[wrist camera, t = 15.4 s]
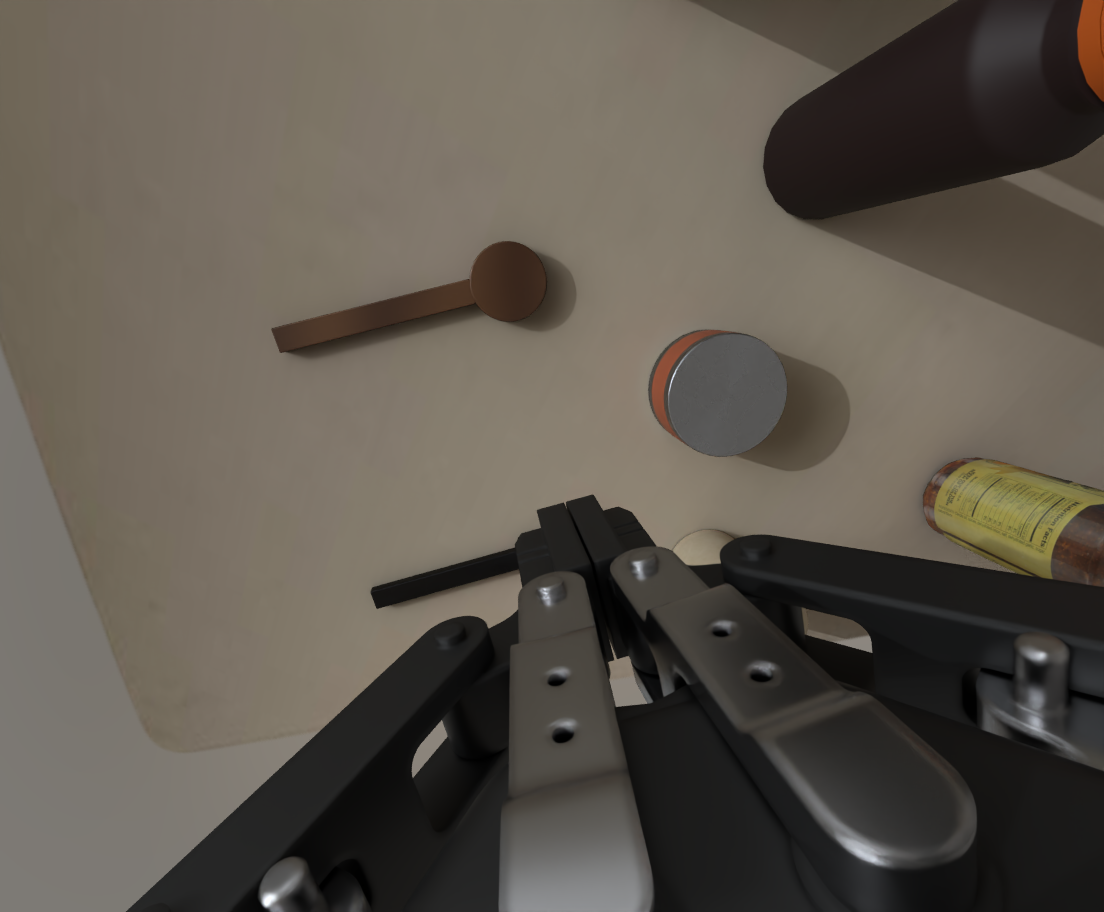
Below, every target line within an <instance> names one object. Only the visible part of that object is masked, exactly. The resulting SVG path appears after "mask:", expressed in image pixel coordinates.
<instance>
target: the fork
mask: <svg viewBox="0 0 1104 912" xmlns="http://www.w3.org/2000/svg"><path fill="white" fill-rule="evenodd" d="M518 538H519V537H518ZM517 569H519V564H518V559H517V554H516V548H512V549H508V550H505V551H501V552H498V553H494V554H490V555H487V556H483V557H480V558H476V559H473V560H469V561H465V562H462V563H458V564H455V565H451V566H447V567H444V568H440V569H437V570H433V571H430V572H426V573H422V574H419V575H415V576H412V577H408V578H404V579H401V580H397V581H394V582H390V583H387V584H383V585H379V586H376V587H373V588H372V590H371V595H372V598H373V600H374V603H375V606H376V608H377V609H378V608H382V607H385V606H389V605H393V604H396V603H400V602H403V601H407V600H410V599H414V598H417V597H421V596H425V595H428V594H432V593H435V592H439V591H442V590H446V589H449V588H453V587H457V586H460V585H464V584H467V583H471V582H474V581H478V580H481V579H485V578H489V577H492V576H496V575H499V574H503V573H506V572H510V571H513V570H517Z"/></svg>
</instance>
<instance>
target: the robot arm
mask: <svg viewBox="0 0 1104 912" xmlns="http://www.w3.org/2000/svg"><path fill="white" fill-rule="evenodd" d="M566 506H567V508H566ZM566 506H565V504H564V503H560V504H557V505H553V506H549V507H546V508H542V509H538V510H537V514H538V518H539V521H540V525H541V528H539V529H536V530H532V531H529V532H525V533H521V535H520V537H519V538H518V540H517V542H516V543H515V548H516V554H517V559H518V564H519V571H520V576H521V582H522V589H521V591H520V592H519V595H518V610H517V611H516V612H515V613H514V614H513V615H512V616H510V617H509V618H508V619H506V620H504V621H503V622H501V623H499V624H497V625H495V626H493V627H491V628H489V629H488V627H487V624H486V622H485V621H484V620H482V619H481V618H478V617H474V616H462V617H456V618H452V619H449V620H446V621H444V622H442V623H440V624H438V625H436V626H434V627H433V628H431V629H430V630H429V631H427V632H426V633H425V634H424V635H423V636H422V637H421V638H420V639H418V640H417V641H416V642H415V643H414V644H413V645H412V646H411V647H410V648H409V649H408V650H407V651H406V652H405V653H403V654H402V655H401V656H400V657H399V658H398V659H397V660H396V661H395V662H394V663H393V664H392V665H391V666H389V667H388V668H387V669H386V670H385V671H384V672H383V673H382V674H381V675H380V676H379V677H378V678H377V679H376V680H374V681H373V682H372V683H371V684H370V685H369V686H368V687H367V688H366V689H365V690H364V691H363V692H362V693H360V694H359V695H358V696H357V697H356V698H355V699H354V700H353V701H352V702H351V703H350V704H349V705H348V706H346V707H345V708H344V709H343V710H342V711H341V712H340V713H339V714H338V715H337V716H336V717H335V718H334V719H333V720H331V721H330V722H329V723H328V724H327V725H326V726H325V727H324V728H323V729H322V730H321V731H320V732H319V733H317V734H316V735H315V736H314V737H313V738H312V739H311V740H310V741H309V742H308V743H307V744H306V745H305V746H304V747H303V748H301V749H300V751H298V752H297V753H296V754H295V755H294V756H293V757H292V758H291V759H290V760H289V761H287V762H286V763H285V764H284V765H283V766H282V767H281V768H280V769H279V770H278V771H277V772H276V773H275V774H273V775H272V776H271V777H270V778H269V779H268V780H267V781H266V782H265V783H264V784H263V785H262V786H261V787H259V788H258V789H257V790H256V791H255V792H254V793H253V794H252V795H251V796H250V797H249V798H248V799H247V800H245V801H244V802H243V803H242V804H241V805H240V806H239V807H238V808H237V809H236V810H235V811H234V812H233V813H232V814H230V815H229V816H228V817H227V818H226V819H225V820H224V821H223V822H222V823H221V824H220V825H219V826H218V827H217V828H215V829H214V830H213V831H212V832H211V833H210V834H209V835H208V836H207V837H206V838H205V839H204V840H202V841H201V842H200V843H199V844H198V845H197V846H196V847H195V848H194V849H193V850H192V851H191V852H190V853H189V854H187V855H186V856H185V857H184V858H183V859H182V860H181V861H180V862H179V863H178V864H177V865H176V866H175V867H174V868H172V869H171V870H170V871H169V872H168V873H167V874H166V875H165V876H164V877H163V878H162V879H161V880H159V881H158V882H157V883H156V884H155V885H154V886H153V887H152V888H151V889H150V890H149V891H148V892H147V893H146V894H145V895H143V896H142V897H141V898H140V899H139V900H138V901H137V902H136V903H135V904H134V905H133V906H132V907H131V908H129V909H128V910H127V911H126V912H1104V587H1100V586H1093V585H1087V584H1080V583H1074V582H1067V581H1061V580H1055V579H1048V578H1042V577H1035V576H1029V575H1023V574H1016V573H1010V572H1003V571H997V570H990V569H984V568H978V567H971V566H965V565H958V564H952V563H946V562H939V561H933V560H926V559H920V558H913V557H907V556H901V555H894V554H888V553H881V552H875V551H869V550H862V549H856V548H849V547H843V546H836V545H830V544H824V543H817V542H811V541H804V540H798V539H792V538H785V537H779V536H772V535H749V536H744V537H740V538H737V539H734V540H732V541H730V542H728V543H727V544H726V545H724V546H723V547H722V549H721V551H720V561H721V563H718V564H707V565H686V564H685V563H684V562H683V561H682V560H681V559H680V558H679V557H678V556H677V555H676V554H675V553H674V552H673V551H671V550H669V549H666V548H663V547H657V546H656V545H655V543H654V542H653V541H652V539H651V538H650V536H649V535H648V534H647V532H646V531H645V530H644V529H643V527H642V525H641V524H640V523H639V522H638V520H637V519H636V517H635V516H634V515H633V513H632V512H630V511H628V510H625V509H623V508H620V507H615V508H611V509H608V510H604V511H603V510H602V508H601V506H600V505H599V503H598V501H597V500H596V498H595V496H594V495H589V496H586V497H582V498H578V499H575V500H571V501H567V502H566ZM802 608H806V609H810V610H815V611H819V612H823V613H827V614H831V615H835V616H840V617H844V618H848V619H851V620H853V621H855V622H857V623H858V624H860V625H861V626H862V627H863V628H864V629H865V630H866V631H867V632H868V634H869V636H870V638H871V641H872V652H873V653H870V652H866V651H863V650H859V649H856V648H852V647H848V646H844V645H841V644H837V643H833V642H830V641H826V640H822V639H819V638H815V637H811V636H808V635H805V630H804V622H803V614H802ZM609 640H610V641H609ZM610 642H611V645H612V647H613V650H614V652H615V655H616V657H617V659H619V658H622V657H626V656H629V657H630V659H631V663H632V667H633V672H634V676H635V680H636V683H637V685H638V687H639V689H640V691H641V693H642V694H643V696H644V698H645V700H646V702H647V703H648V704H641V705H632V706H622V707H616V706H615V701H614V698H613V693H612V689H611V685H610V681H609V678H610V668H609V664H608V662H609V661H613V660H614V657H613V653H612V649H611V645H610ZM441 720H442V721H443V724H444V727H445V730H446V732H447V735H448V737H447V738H446V739H445V741H444V742H443V743H442V744H441V745H440V746H439V748H438V749H437V750H436V751H435V752H434V754H433V755H432V756H431V757H430V758H429V760H428V761H427V762H426V763H425V764H424V766H423V767H422V768H421V769H420V771H419V772H418V773H417V774H416V775H415V776H414V778H413V777H412V772H411V771H412V762H413V758H414V755H415V753H416V751H417V749H418V747H419V746H420V744H421V743H422V742H423V741H424V740H425V738H426V737H427V736H428V735H429V734H430V733H431V731H432V730H433V729H434V728H435V727H436V726H437V725H438V723H439V722H440V721H441Z"/></svg>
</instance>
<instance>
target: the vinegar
mask: <svg viewBox="0 0 1104 912" xmlns="http://www.w3.org/2000/svg"><path fill="white" fill-rule="evenodd" d="M1103 134H1104V0H958V1H956V2H955V3H953V4H951V5H950V6H948V7H947V8H945V9H943V10H942V11H940V12H939V13H937V14H935V15H934V16H932V17H931V18H929V19H927V20H926V21H924V22H923V23H921V24H919V25H918V26H916V27H915V28H913V29H911V30H910V31H908V32H907V33H905V34H903V35H902V36H900V37H899V38H897V39H895V40H894V41H892V42H890V43H889V44H887V45H886V46H884V47H882V48H881V49H879V50H878V51H876V52H874V53H873V54H871V55H870V56H868V57H866V58H865V59H863V60H862V61H860V62H858V63H857V64H855V65H854V66H852V67H850V68H849V69H847V70H846V71H844V72H842V73H841V74H839V75H838V76H836V77H834V78H833V79H831V80H830V81H828V82H826V83H825V84H823V85H821V86H820V87H818V88H817V89H815V90H813V91H812V92H810V93H809V94H807V95H805V96H804V97H802V98H801V99H799V100H798V101H797V102H795V103H794V104H793V105H791V106H790V107H789V108H787V109H786V110H785V111H784V112H783V114H782V115H781V116H780V118H779V119H778V121H777V122H776V123H775V125H774V126H773V128H772V129H771V132H770V135H769V138H768V140H767V143H766V146H765V152H764V165H763V169H764V174H765V179H766V184H767V187H768V189H769V191H770V192H771V194H772V196H773V198H774V200H775V202H777V203H778V204H779V205H780V206H781V207H782V208H783V209H784V210H785V211H786V212H788V213H790V214H792V215H795V216H797V217H800V218H802V219H825V218H829V217H833V216H837V215H842V214H846V213H850V212H854V211H859V210H863V209H867V208H871V207H875V206H880V205H884V204H888V203H892V202H897V201H901V200H905V199H909V198H913V197H918V196H922V195H926V194H930V193H935V192H939V191H943V190H947V189H951V188H956V187H960V186H964V185H968V184H973V183H977V182H981V181H985V180H990V179H994V178H998V177H1002V176H1006V175H1011V174H1015V173H1019V172H1023V171H1028V170H1032V169H1036V168H1040V167H1044V166H1047V165H1049V164H1052V163H1055V162H1058V161H1061V160H1064V159H1067V158H1069V157H1072V156H1074V155H1076V154H1077V153H1079V152H1080V151H1081V150H1083V149H1084V148H1086V147H1087V146H1088V145H1090V144H1091V143H1092V142H1094V141H1095V140H1096V139H1098V138H1099V137H1100V136H1102V135H1103Z"/></svg>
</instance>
